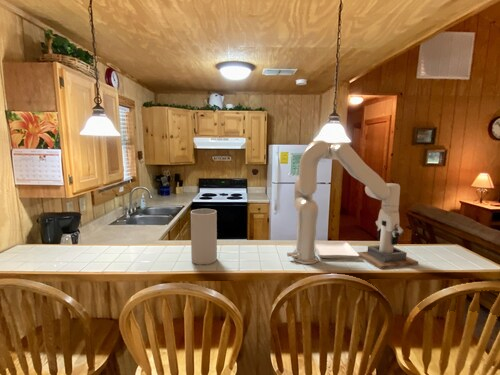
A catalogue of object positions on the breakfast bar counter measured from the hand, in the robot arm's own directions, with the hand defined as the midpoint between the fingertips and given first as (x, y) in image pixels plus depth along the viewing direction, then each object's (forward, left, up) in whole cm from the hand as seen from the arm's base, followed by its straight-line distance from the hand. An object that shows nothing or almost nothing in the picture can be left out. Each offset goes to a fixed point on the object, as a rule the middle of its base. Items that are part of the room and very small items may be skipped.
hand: (387, 241), depth 138 cm
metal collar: (0, 0, -8) cm, 8 cm away
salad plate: (-21, +15, -10) cm, 28 cm away
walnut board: (0, 0, -10) cm, 10 cm away
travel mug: (0, 0, -8) cm, 8 cm away
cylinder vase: (-90, +21, -10) cm, 93 cm away
